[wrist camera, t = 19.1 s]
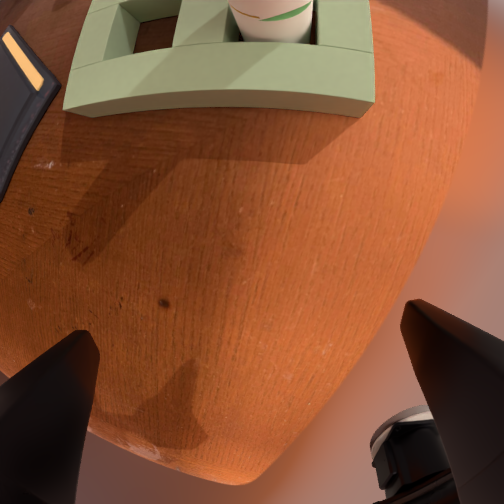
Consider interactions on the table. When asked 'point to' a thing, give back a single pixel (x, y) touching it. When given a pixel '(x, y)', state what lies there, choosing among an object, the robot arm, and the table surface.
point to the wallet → (20, 99)
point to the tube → (273, 20)
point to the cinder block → (220, 61)
